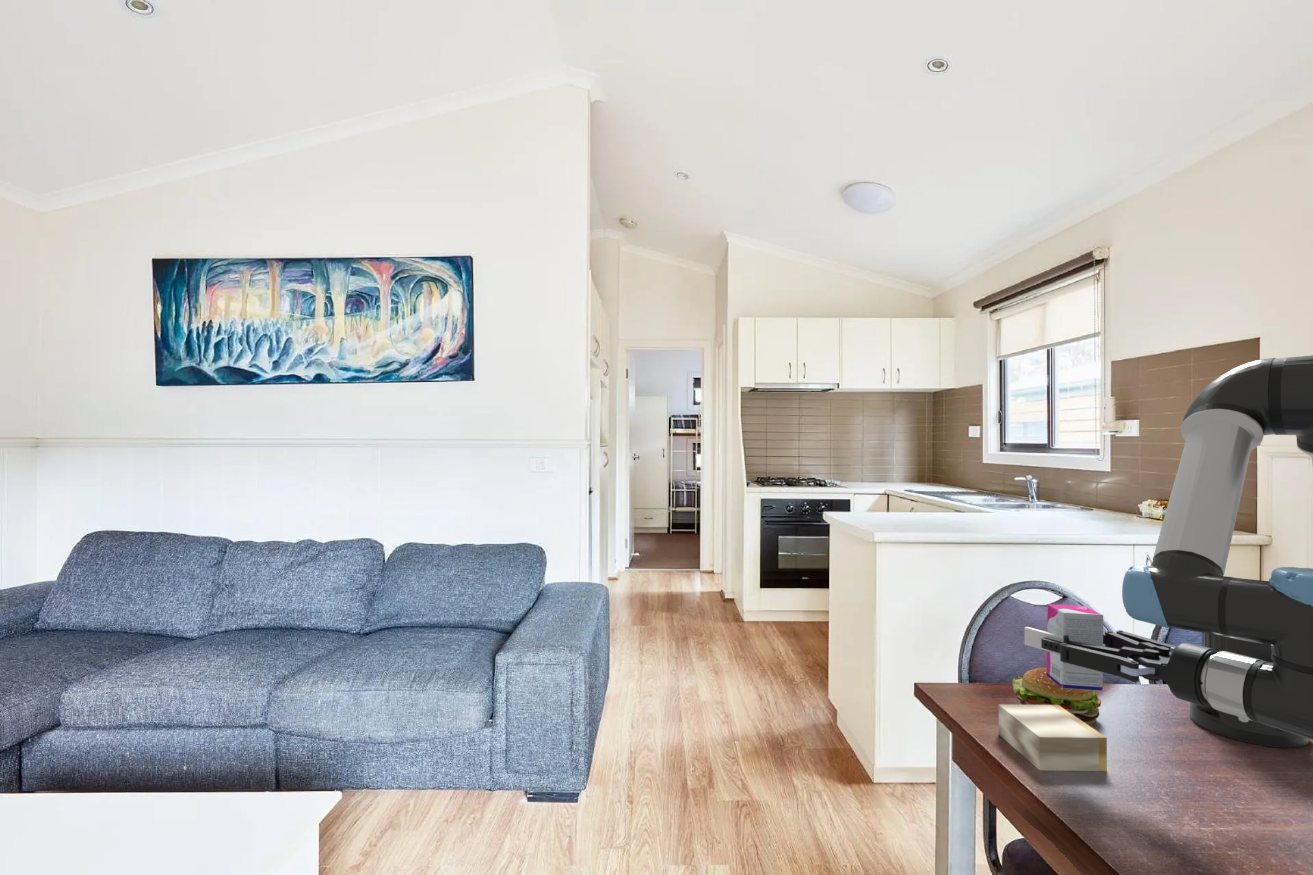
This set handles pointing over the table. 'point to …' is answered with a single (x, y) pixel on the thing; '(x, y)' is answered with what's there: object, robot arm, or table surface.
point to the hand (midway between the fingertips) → (1043, 631)
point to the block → (1053, 738)
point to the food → (1056, 695)
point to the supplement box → (1080, 628)
